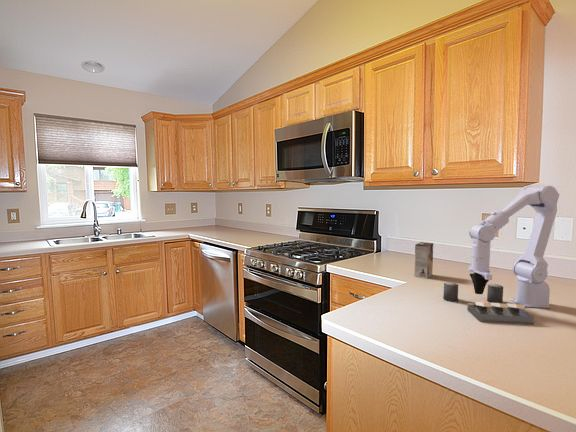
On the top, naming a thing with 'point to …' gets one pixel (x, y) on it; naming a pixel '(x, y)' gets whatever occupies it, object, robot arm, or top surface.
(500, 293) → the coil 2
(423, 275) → the coffee box
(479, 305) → the paddle
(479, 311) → the panel
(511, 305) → the paddle
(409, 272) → the top surface
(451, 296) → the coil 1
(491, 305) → the paddle mid
